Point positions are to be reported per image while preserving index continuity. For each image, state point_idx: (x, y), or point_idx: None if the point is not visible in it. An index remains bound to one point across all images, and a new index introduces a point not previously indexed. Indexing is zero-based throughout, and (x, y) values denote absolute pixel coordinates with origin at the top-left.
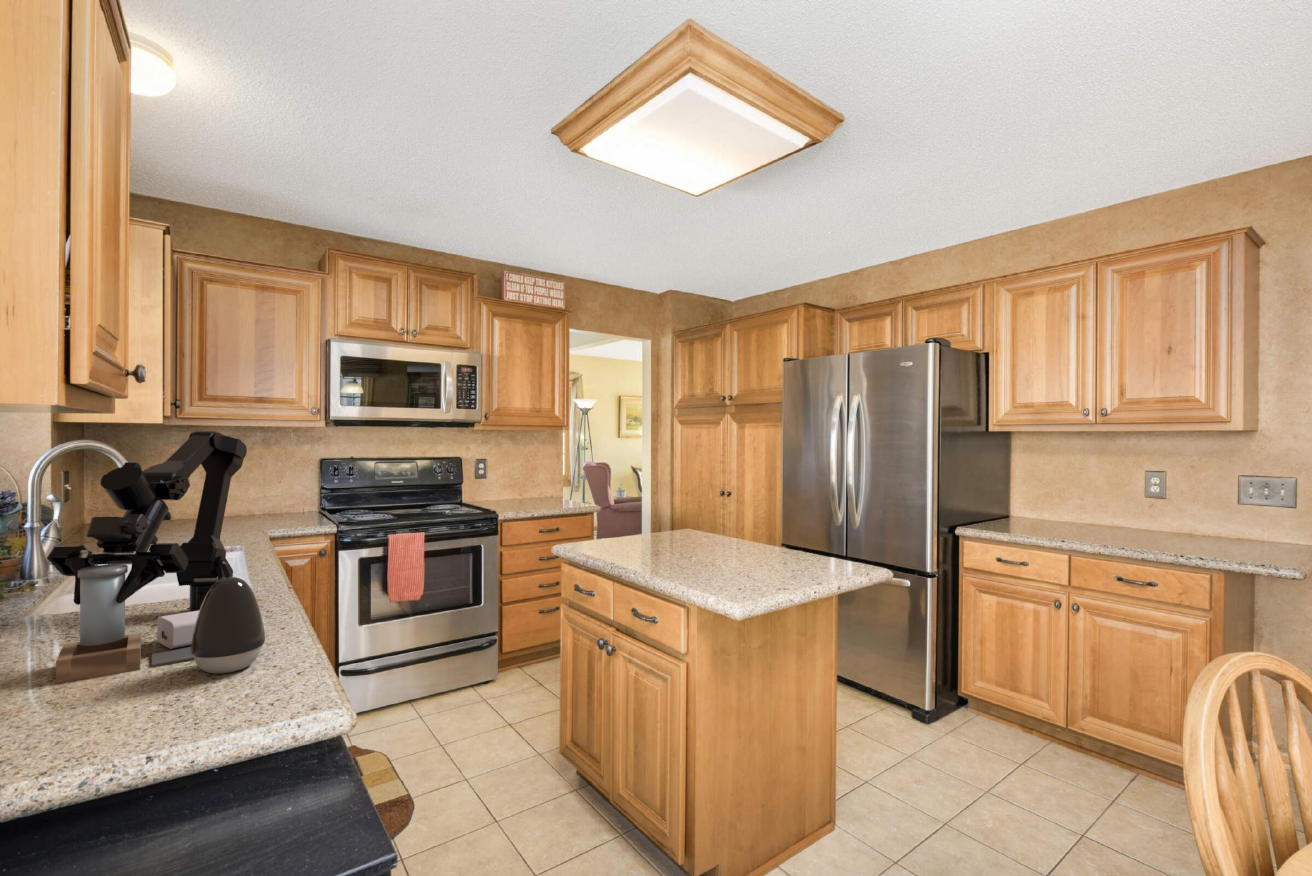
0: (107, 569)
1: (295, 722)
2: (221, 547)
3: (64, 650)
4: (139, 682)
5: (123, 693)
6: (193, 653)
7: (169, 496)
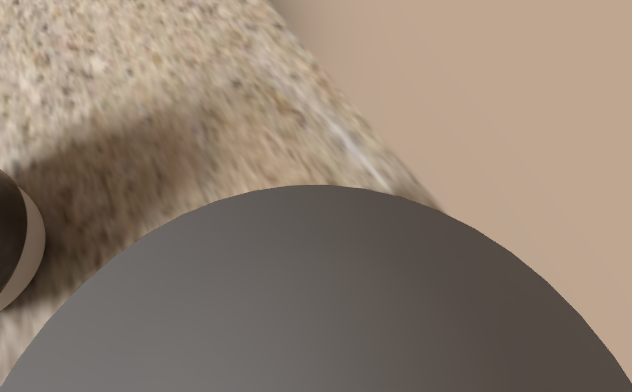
0: (170, 381)
1: None
2: None
3: None
4: (173, 194)
5: (179, 137)
6: (9, 179)
7: None
